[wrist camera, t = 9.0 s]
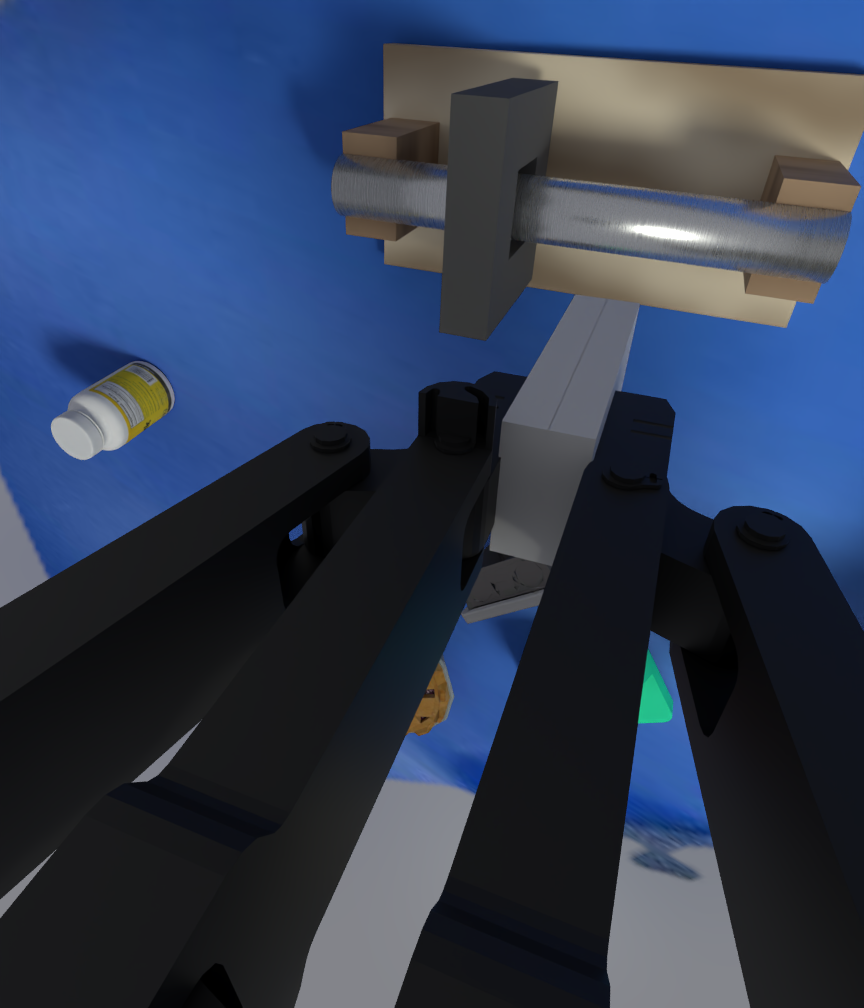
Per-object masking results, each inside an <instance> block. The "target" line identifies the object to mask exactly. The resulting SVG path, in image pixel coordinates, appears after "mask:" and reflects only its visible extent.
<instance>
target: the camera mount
mask: <svg viewBox="0 0 864 1008" xmlns="http://www.w3.org/2000/svg"><path fill="white" fill-rule="evenodd" d="M672 711H673V700H672V698H671V696H670V693H669V691H668V689H667V687H666V685H665V683H664V681H663V679H662V677H661V675H660V672H659V670H658V668H657V666H656V664H655V662H654V660H653V658H652V656H651V653H650V651H649V649H648V652H647V659H646V667H645V674H644V682H643V689H642V697H641V704H640V712H639V719H638V723H657V722H667V721H669V720H671V718H672Z"/></svg>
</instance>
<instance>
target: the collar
mask: <svg viewBox="0 0 864 1008" xmlns="http://www.w3.org/2000/svg"><path fill="white" fill-rule="evenodd" d="M558 82H559V81H549V80H536V79H523V78H510V79H506V80H502V81H498V82H494V83H490V84H486V85H483V86H479V87H475V88H471V89H467V90H463V91H459V92H456V93H452V94H451V107H450V127H449V147H448V167H447V187H446V208H445V228H444V248H443V268H442V288H441V308H440V328H439V332H440V333H446V334H451V335H457V336H462V337H468V338H473V339H479V340H484V341H486V340H487V339H488V337H489V336H490V335H491V333H492V332H493V331H494V329H495V328H496V327H497V325H498V324H499V323H500V321H501V320H502V319H503V317H504V316H505V315H506V313H507V312H508V311H509V309H510V308H511V306H512V305H513V304H514V302H515V301H516V300H517V298H518V297H519V296H520V294H521V293H522V292H523V290H524V289H525V288H526V286H527V285H528V284H529V282H530V281H531V280H532V275H533V268H534V260H535V253H536V245H537V243H532V242H525V241H518V240H511V232H512V223H513V214H514V205H515V196H516V187H517V178H518V173H520V174H529V175H538V176H546V171H547V164H548V156H549V149H550V141H551V134H552V127H553V119H554V112H555V104H556V97H557V89H558Z"/></svg>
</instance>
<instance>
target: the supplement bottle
mask: <svg viewBox="0 0 864 1008" xmlns="http://www.w3.org/2000/svg"><path fill="white" fill-rule="evenodd" d="M174 400H175V398H174V392H173V389H172V386H171V384H170V383H169V381H168V379H167V378H166V377H165V375H164V374H163V373H162V372H161V371H160V370H159V369H157V368H156V367H155V366H153V365H151V364H149V363H147V362H143V361H134V362H131V363H129V364H127V365H125V366H123V367H121V368H120V369H118V370H116V371H115V372H113V373H111V374H110V375H108V376H106V377H105V378H103V379H101V380H100V381H98V382H96V383H95V384H93V385H91V386H90V387H88V388H86V389H85V390H83V391H81V392H80V393H78V394H76V395H75V396H74V397H73V398H72V399H71V400H70V402H69V405H68V411H66V412H64V413H63V414H61V415H59V416H58V417H56V418H55V419H54V420H53V421H52V424H51V431H52V434H53V437H54V439H55V440H56V442H57V443H58V444H59V446H60V447H61V448H62V449H63V450H64V451H65V452H66V453H68V454H69V455H71V456H73V457H75V458H77V459H81V460H87V459H90V458H91V457H93V456H94V455H96V454H97V453H99V452H100V451H101V450H115V449H118V448H120V447H121V446H123V445H125V444H126V443H127V442H129V441H130V440H131V439H133V438H134V437H135V436H137V435H138V434H140V433H141V432H142V431H144V430H145V429H146V428H148V427H149V426H151V425H152V424H153V423H155V422H156V421H158V420H159V419H160V418H162V417H163V416H165V415H166V414H167V413H168V412H169V411H170V410H171V409H172V408H173V405H174Z"/></svg>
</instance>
